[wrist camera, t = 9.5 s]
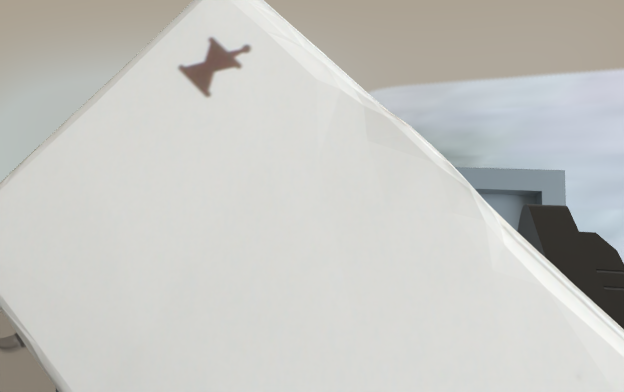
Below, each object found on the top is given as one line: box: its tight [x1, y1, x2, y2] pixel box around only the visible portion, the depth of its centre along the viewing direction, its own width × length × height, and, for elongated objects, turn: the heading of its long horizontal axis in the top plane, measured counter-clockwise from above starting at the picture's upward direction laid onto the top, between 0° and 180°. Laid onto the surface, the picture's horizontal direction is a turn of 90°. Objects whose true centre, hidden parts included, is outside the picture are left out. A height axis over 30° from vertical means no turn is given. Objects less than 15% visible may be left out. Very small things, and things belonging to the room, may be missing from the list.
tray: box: [455, 167, 566, 231], centre depth 29 cm, size 20×16×2 cm
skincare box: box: [0, 0, 624, 392], centre depth 10 cm, size 6×4×12 cm
